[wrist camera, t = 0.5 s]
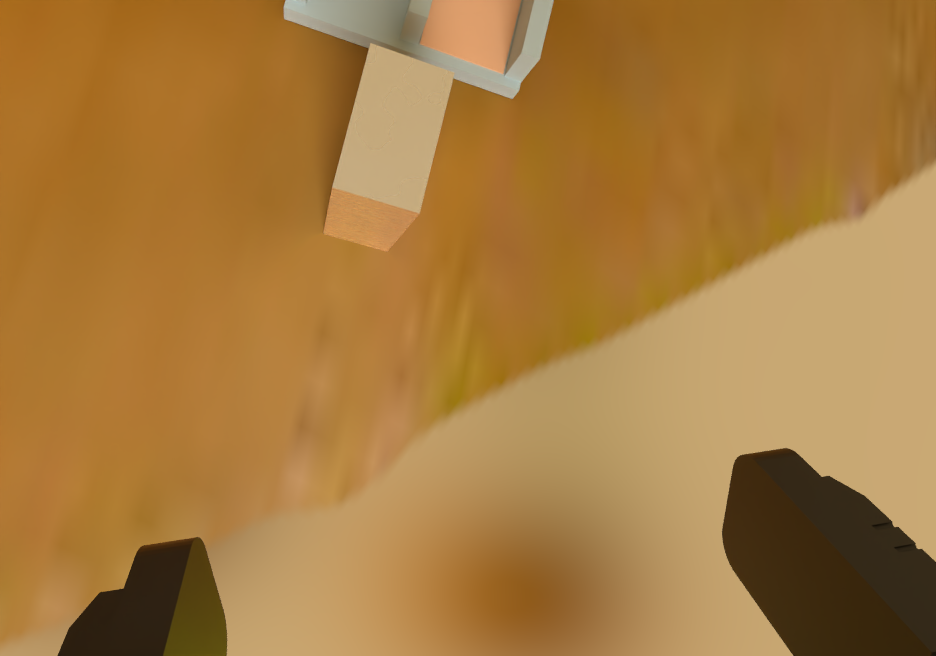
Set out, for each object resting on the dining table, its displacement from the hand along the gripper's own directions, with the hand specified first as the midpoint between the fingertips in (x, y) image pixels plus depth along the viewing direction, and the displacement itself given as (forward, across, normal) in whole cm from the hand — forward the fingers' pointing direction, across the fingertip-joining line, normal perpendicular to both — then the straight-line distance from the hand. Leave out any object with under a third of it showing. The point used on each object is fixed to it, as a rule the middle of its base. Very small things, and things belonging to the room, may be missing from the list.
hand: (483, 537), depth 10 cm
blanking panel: (+28, 0, +2) cm, 29 cm away
